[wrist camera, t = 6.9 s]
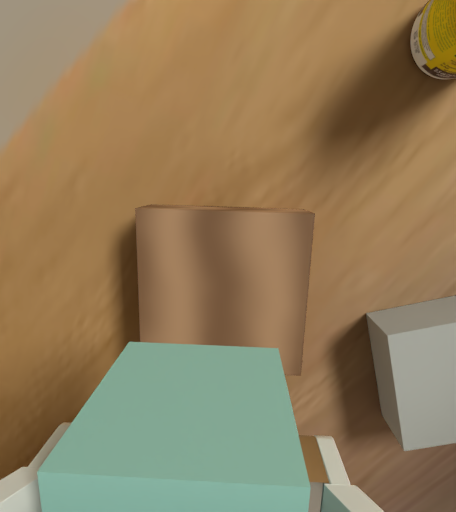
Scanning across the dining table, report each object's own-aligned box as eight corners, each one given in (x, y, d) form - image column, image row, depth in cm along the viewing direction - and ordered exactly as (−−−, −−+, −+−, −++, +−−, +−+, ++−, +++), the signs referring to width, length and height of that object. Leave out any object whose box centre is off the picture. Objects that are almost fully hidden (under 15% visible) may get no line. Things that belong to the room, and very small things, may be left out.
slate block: (491, 288, 26) (535, 307, 22) (498, 395, 28) (540, 429, 24) (366, 313, 27) (387, 335, 23) (381, 414, 29) (403, 451, 25)
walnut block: (303, 209, 25) (314, 213, 21) (292, 348, 28) (300, 375, 24) (151, 204, 25) (135, 208, 21) (154, 342, 28) (141, 368, 24)
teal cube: (278, 348, 11) (310, 487, 6) (269, 472, 12) (291, 679, 7) (129, 341, 11) (37, 471, 6) (134, 465, 12) (60, 661, 7)
